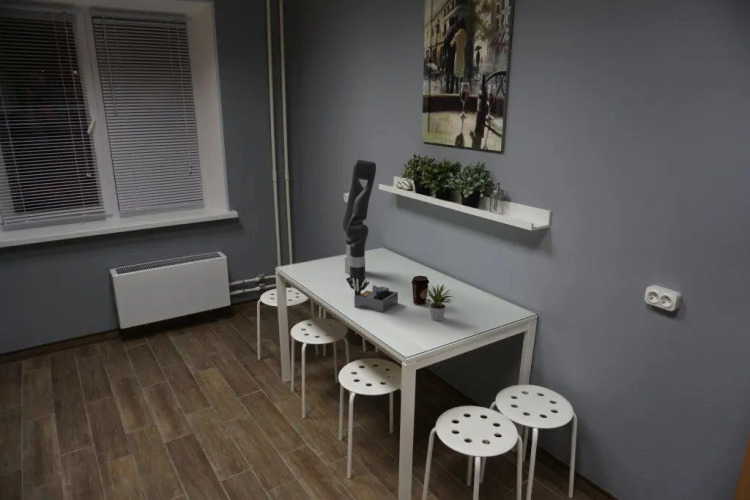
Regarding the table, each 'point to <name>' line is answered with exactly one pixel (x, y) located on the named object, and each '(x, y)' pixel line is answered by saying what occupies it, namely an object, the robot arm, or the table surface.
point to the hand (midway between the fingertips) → (357, 297)
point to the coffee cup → (420, 289)
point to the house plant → (438, 303)
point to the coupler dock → (376, 304)
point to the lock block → (368, 293)
